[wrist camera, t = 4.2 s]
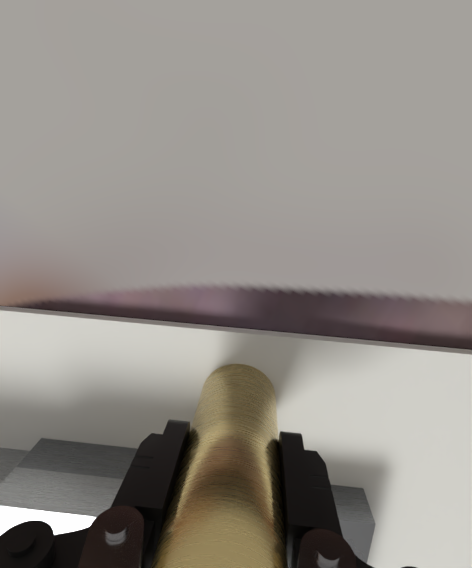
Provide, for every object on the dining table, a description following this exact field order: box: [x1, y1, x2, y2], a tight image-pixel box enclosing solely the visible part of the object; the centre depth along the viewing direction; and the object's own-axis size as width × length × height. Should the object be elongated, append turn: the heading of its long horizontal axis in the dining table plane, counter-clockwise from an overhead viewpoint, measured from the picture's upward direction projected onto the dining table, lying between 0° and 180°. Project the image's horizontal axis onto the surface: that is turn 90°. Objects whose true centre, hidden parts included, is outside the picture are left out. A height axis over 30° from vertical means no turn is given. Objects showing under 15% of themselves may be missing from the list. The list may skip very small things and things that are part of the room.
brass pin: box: [151, 364, 288, 568], centre depth 10 cm, size 3×3×11 cm
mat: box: [0, 306, 472, 568], centre depth 17 cm, size 34×16×1 cm, turn 86°
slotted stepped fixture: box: [0, 438, 376, 564], centre depth 15 cm, size 22×8×4 cm, turn 86°
